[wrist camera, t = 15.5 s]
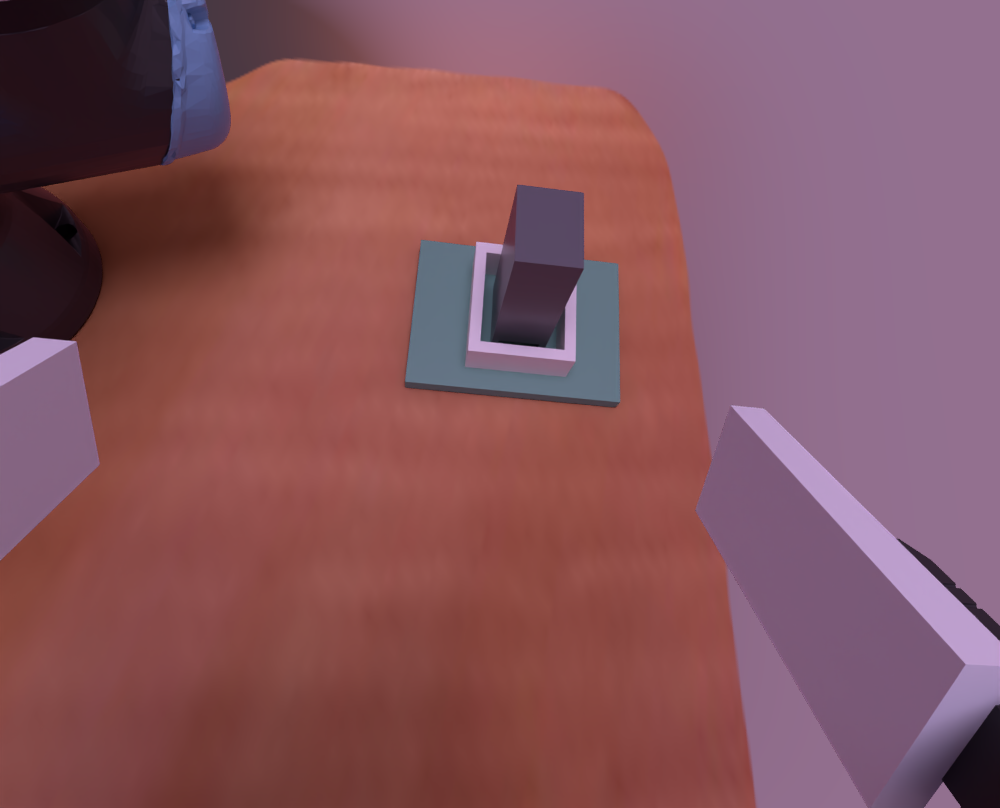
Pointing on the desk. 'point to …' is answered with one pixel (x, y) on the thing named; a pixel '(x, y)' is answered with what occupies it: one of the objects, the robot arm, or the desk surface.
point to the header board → (508, 365)
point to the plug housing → (537, 264)
